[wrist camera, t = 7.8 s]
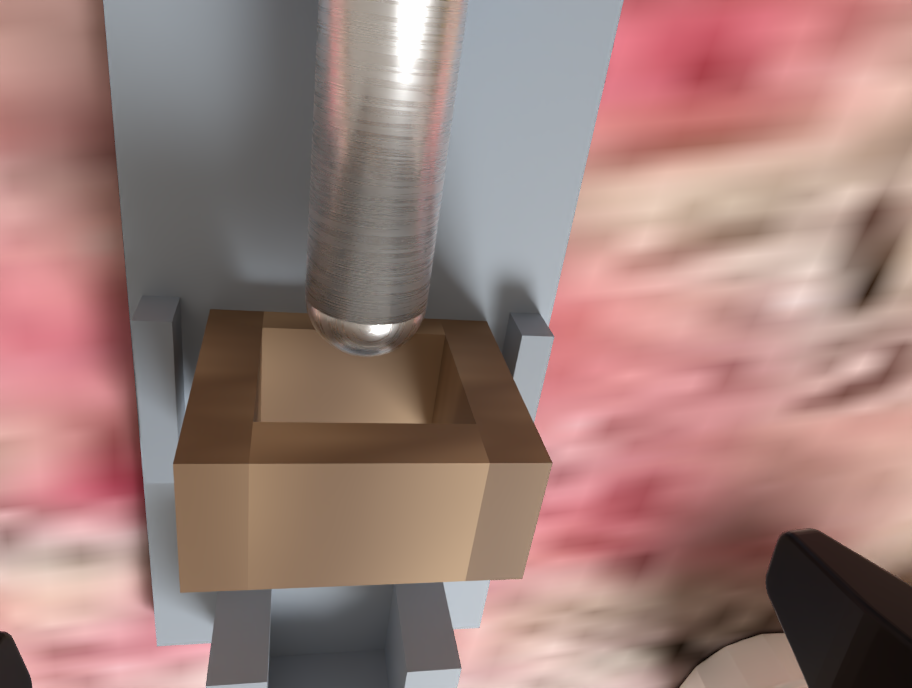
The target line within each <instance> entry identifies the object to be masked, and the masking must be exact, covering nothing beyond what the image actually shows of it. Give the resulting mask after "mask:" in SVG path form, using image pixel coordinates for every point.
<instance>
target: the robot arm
mask: <svg viewBox="0 0 912 688" xmlns="http://www.w3.org/2000/svg"><path fill="white" fill-rule="evenodd" d="M766 589H767V593H768V596H769V599H770V601H771V603H772V606H773V608H774V610H775V613H776V615H777V617H778V619H779V622H780V624H781V626H782V629H783V631H784V633H785V635H786V638H787V640H788V642H789V645H790V647H791V649H792V652H793V654H794V656H795V658H796V661H797V663H798V665H799V668H800V670H801V672H802V674H803V677H804V679H805V681H806V684H807V686H808V688H912V586H911V585H909V584H908V583H906V582H904V581H903V580H901V579H899V578H898V577H896V576H894V575H893V574H891V573H889V572H888V571H886V570H884V569H883V568H881V567H879V566H878V565H876V564H874V563H873V562H871V561H869V560H868V559H866V558H864V557H863V556H861V555H859V554H858V553H856V552H854V551H853V550H851V549H849V548H847V547H846V546H844V545H842V544H841V543H839V542H837V541H836V540H834V539H832V538H831V537H829V536H827V535H826V534H824V533H822V532H820V531H818V530H816V529H811V528H807V529H799V530H791V531H786V532H783V533H782V534H781V535H780V536H779V538H778V540H777V543H776V546H775V549H774V552H773V555H772V558H771V561H770V564H769V567H768V570H767V573H766ZM0 688H32V682H31V678H30V675H29V672H28V670H27V668H26V666H25V664H24V661H23V659H22V657H21V655H20V653H19V650H18V648H17V646H16V644H15V642H14V640H13V638H12V636H11V635H10V634H8V633H7V632H2V631H0Z"/></svg>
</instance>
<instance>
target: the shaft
mask: <svg viewBox="0 0 912 688" xmlns="http://www.w3.org/2000/svg"><path fill="white" fill-rule="evenodd" d="M468 1H469V0H319V2H318V24H317V45H316V67H315V89H314V110H313V132H312V154H311V175H310V197H309V219H308V240H307V262H306V284H305V302H306V308H307V313H308V316H309V318H310V320H311V322H312V324H313V326H314V328H315V330H316V331H317V332H318V334H319V335H320V336H321V337H322V338H323V339H324V340H325V341H326V342H327V343H328V344H330V345H331V346H332V347H334V348H336V349H337V350H340V351H342V352H344V353H347V354H350V355H353V356H359V357H374V356H380V355H384V354H387V353H390V352H392V351H394V350H396V349H398V348H400V347H401V346H403V345H404V344H405V343H406V342H407V341H409V340H410V339H411V337H412V336H413V335H414V334H415V333H416V331H417V330H418V329H419V327H420V325H421V323H422V321H423V318H424V315H425V312H426V308H427V301H428V294H429V286H430V279H431V272H432V265H433V257H434V250H435V243H436V235H437V228H438V221H439V213H440V206H441V199H442V191H443V184H444V177H445V169H446V162H447V155H448V147H449V140H450V133H451V125H452V118H453V111H454V103H455V96H456V89H457V81H458V74H459V67H460V59H461V52H462V45H463V37H464V30H465V23H466V15H467V8H468Z"/></svg>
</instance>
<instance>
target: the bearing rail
mask: <svg viewBox="0 0 912 688" xmlns="http://www.w3.org/2000/svg"><path fill="white" fill-rule="evenodd" d="M318 2H319V0H103V5H104V17H105V29H106V41H107V53H108V65H109V77H110V89H111V101H112V113H113V125H114V137H115V148H116V160H117V172H118V184H119V196H120V208H121V220H122V232H123V244H124V256H125V268H126V280H127V292H128V304H129V316H130V328H131V340H132V352H133V364H134V375H135V387H136V399H137V411H138V423H139V435H140V447H141V459H142V471H143V483H144V495H145V507H146V519H147V531H148V543H149V555H150V567H151V579H152V590H153V602H154V614H155V626H156V638H157V646H168V645H186V644H203V643H211V649H210V657H209V665H208V673H207V681H206V688H457V686H458V682H459V677H460V673H461V664H460V659H459V655H458V650H457V645H456V641H455V636H454V631H453V629H466V628H479V627H480V623H481V618H482V614H483V609H484V605H485V601H486V596H487V592H488V588H489V583H490V580H482V581H458V582H433V583H409V584H384V585H360V586H335V587H311V588H287V589H262V590H238V591H213V592H189V593H180V582H179V564H178V546H177V529H176V511H175V493H174V475H173V461H174V457H175V453H176V449H177V445H178V441H179V436H180V432H181V428H182V424H183V420H184V416H185V411H186V407H187V403H188V399H189V395H190V391H191V386H192V382H193V378H194V374H195V370H196V366H197V362H198V357H199V353H200V349H201V345H202V341H203V337H204V332H205V328H206V324H207V320H208V316H209V312H210V309H221V310H244V311H267V312H290V313H307V308H306V302H305V284H306V262H307V240H308V219H309V197H310V175H311V154H312V132H313V110H314V89H315V67H316V45H317V24H318ZM622 5H623V0H469V1H468V8H467V15H466V23H465V30H464V37H463V45H462V52H461V59H460V67H459V74H458V81H457V89H456V96H455V103H454V111H453V118H452V125H451V133H450V140H449V147H448V155H447V162H446V169H445V177H444V184H443V191H442V199H441V206H440V213H439V221H438V228H437V235H436V243H435V250H434V257H433V265H432V272H431V279H430V286H429V294H428V301H427V308H426V312H425V315H424V318H427V319H450V320H473V321H487V323H488V325H489V327H490V329H491V332H492V334H493V336H494V338H495V340H496V342H497V344H498V347H499V349H500V351H501V353H502V355H503V357H504V360H505V362H506V364H507V366H508V368H509V370H510V373H511V375H512V377H513V379H514V381H515V383H516V386H517V388H518V390H519V392H520V394H521V396H522V398H523V401H524V403H525V405H526V407H527V409H528V411H529V414H530V416H531V418H532V420H533V422H534V420H535V416H536V412H537V408H538V403H539V399H540V395H541V391H542V387H543V382H544V378H545V374H546V370H547V365H548V361H549V357H550V353H551V348H552V344H553V340H554V336H553V334H552V332H551V331H550V329H549V322H550V318H551V314H552V309H553V305H554V301H555V296H556V292H557V288H558V283H559V279H560V275H561V270H562V266H563V261H564V257H565V253H566V248H567V244H568V240H569V235H570V231H571V227H572V222H573V218H574V214H575V209H576V205H577V201H578V196H579V192H580V187H581V183H582V179H583V174H584V170H585V166H586V161H587V157H588V153H589V148H590V144H591V140H592V135H593V131H594V127H595V122H596V118H597V114H598V109H599V105H600V100H601V96H602V92H603V87H604V83H605V79H606V74H607V70H608V66H609V61H610V57H611V53H612V48H613V44H614V40H615V35H616V31H617V27H618V22H619V18H620V13H621V9H622Z"/></svg>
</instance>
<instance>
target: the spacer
mask: <svg viewBox="0 0 912 688" xmlns="http://www.w3.org/2000/svg"><path fill="white" fill-rule="evenodd" d="M551 466H552V461H551V459H550V457H549V455H548V452H547V450H546V448H545V446H544V444H543V442H542V440H541V437H540V435H539V433H538V431H537V429H536V427H535V424H534V422H533V420H532V418H531V416H530V414H529V411H528V409H527V407H526V405H525V403H524V401H523V398H522V396H521V394H520V392H519V390H518V388H517V386H516V383H515V381H514V379H513V377H512V375H511V373H510V370H509V368H508V366H507V364H506V362H505V360H504V357H503V355H502V353H501V351H500V349H499V347H498V344H497V342H496V340H495V338H494V336H493V334H492V332H491V329H490V327H489V325H488V323H487V321H473V320H450V319H427V318H423V321H422V323H421V325H420V327H419V329H418V330H417V331H416V333H415V334H414V335H413V336H412V337H411V339H410V340H409V341H407V342H406V343H405V344H404V345H403V346H401V347H400V348H398V349H396V350H394V351H392V352H390V353H387V354H384V355H380V356H374V357H359V356H353V355H350V354H347V353H344V352H342V351H340V350H337V349H336V348H334V347H332V346H331V345H330V344H328V343H327V342H326V341H325V340H324V339H323V338H322V337H321V336H320V335H319V334H318V332H317V331H316V330H315V328H314V326H313V324H312V322H311V320H310V318H309V316H308V313H290V312H267V311H244V310H221V309H210V312H209V316H208V320H207V324H206V328H205V332H204V337H203V341H202V345H201V349H200V353H199V357H198V362H197V366H196V370H195V374H194V378H193V382H192V386H191V391H190V395H189V399H188V403H187V407H186V411H185V416H184V420H183V424H182V428H181V432H180V436H179V441H178V445H177V449H176V453H175V457H174V461H173V475H174V493H175V511H176V529H177V546H178V564H179V582H180V593H189V592H213V591H238V590H262V589H287V588H311V587H335V586H360V585H384V584H409V583H433V582H458V581H482V580H506V579H522V578H523V574H524V570H525V566H526V562H527V559H528V555H529V551H530V547H531V543H532V539H533V536H534V532H535V528H536V524H537V520H538V516H539V512H540V509H541V505H542V501H543V497H544V493H545V489H546V486H547V482H548V478H549V474H550V470H551Z"/></svg>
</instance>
